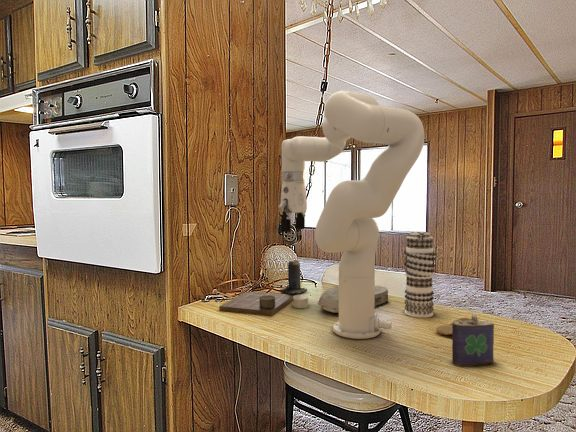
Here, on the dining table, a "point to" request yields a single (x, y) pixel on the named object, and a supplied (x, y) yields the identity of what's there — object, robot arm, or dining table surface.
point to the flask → (472, 342)
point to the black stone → (267, 302)
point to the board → (255, 303)
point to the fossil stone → (331, 298)
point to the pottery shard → (449, 327)
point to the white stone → (300, 301)
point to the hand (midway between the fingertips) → (293, 230)
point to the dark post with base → (294, 278)
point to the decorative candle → (419, 274)
